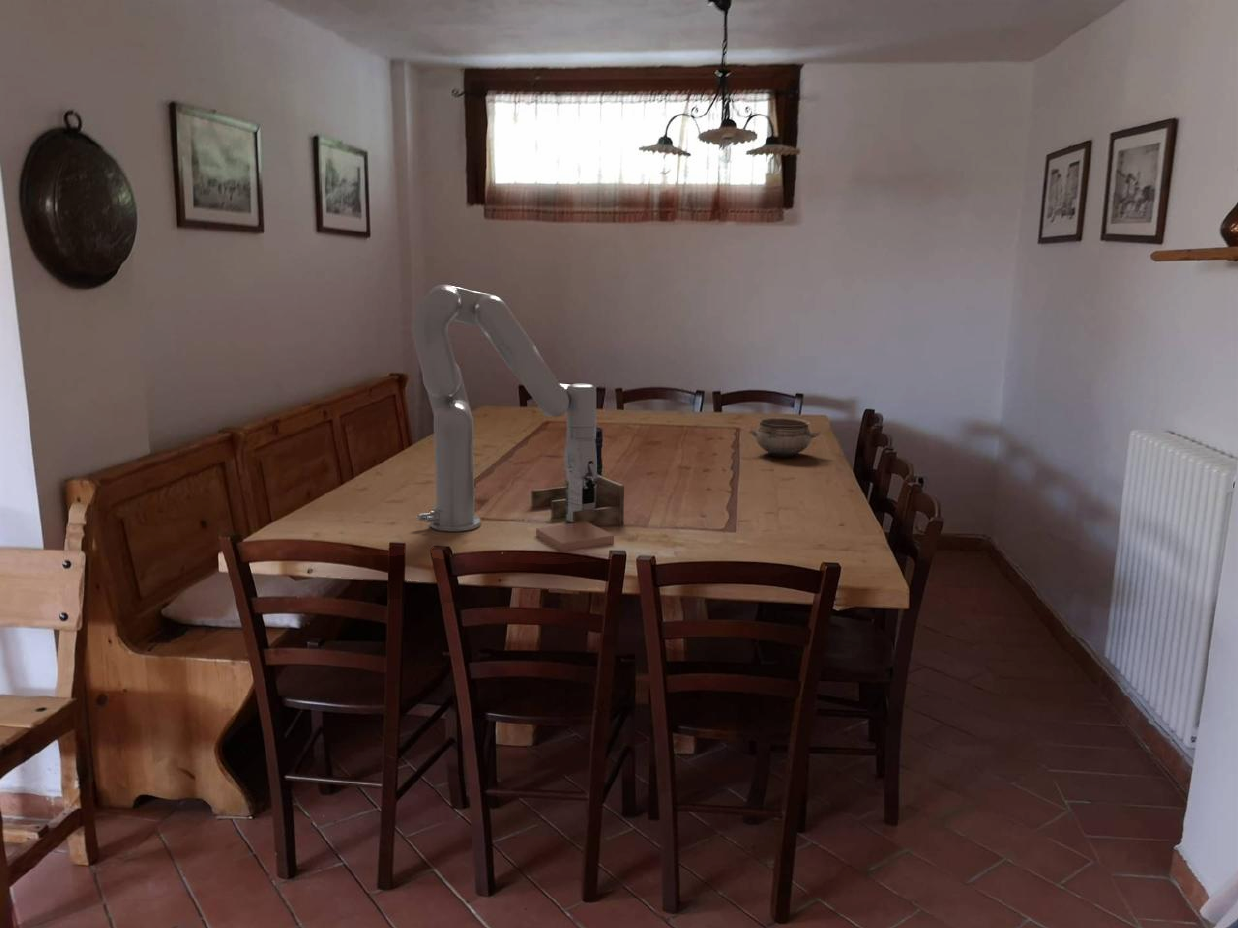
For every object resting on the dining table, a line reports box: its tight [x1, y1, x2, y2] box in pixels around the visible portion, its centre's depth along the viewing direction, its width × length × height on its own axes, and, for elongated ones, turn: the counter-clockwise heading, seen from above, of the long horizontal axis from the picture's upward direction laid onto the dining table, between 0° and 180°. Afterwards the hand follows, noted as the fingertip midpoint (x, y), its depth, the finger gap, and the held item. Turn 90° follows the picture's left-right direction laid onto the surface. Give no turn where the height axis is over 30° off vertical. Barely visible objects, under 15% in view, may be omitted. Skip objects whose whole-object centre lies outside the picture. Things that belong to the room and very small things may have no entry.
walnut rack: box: [530, 475, 625, 528], centre depth 250 cm, size 14×26×10 cm, turn 31°
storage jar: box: [595, 426, 604, 476], centre depth 293 cm, size 10×10×15 cm
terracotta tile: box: [535, 521, 615, 552], centre depth 229 cm, size 14×14×2 cm
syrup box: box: [565, 467, 596, 523], centre depth 244 cm, size 6×6×14 cm
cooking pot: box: [747, 416, 821, 459], centre depth 329 cm, size 25×19×12 cm
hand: (581, 499), depth 244 cm, fingers closed on syrup box, 7 cm apart
